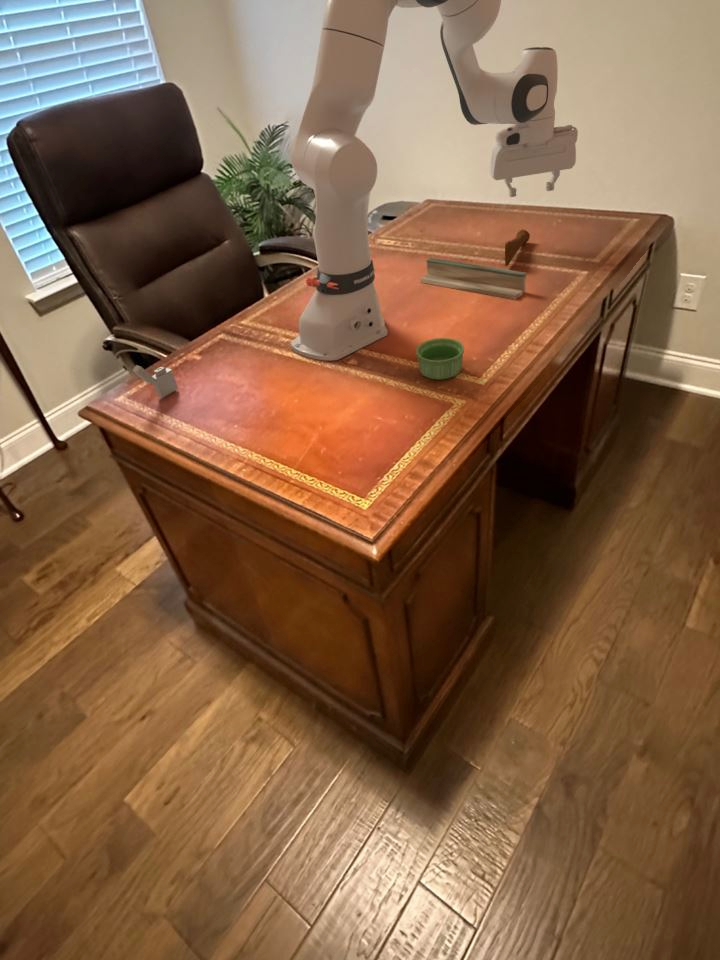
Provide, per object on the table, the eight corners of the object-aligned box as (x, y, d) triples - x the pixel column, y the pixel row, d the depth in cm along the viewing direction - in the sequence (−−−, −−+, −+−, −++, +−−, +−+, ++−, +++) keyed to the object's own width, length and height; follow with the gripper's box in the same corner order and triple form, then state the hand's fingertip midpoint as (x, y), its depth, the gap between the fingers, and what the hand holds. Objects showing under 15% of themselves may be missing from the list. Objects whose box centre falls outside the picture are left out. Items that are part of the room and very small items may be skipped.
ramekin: (461, 355, 115) (461, 335, 113) (466, 379, 109) (466, 358, 106) (416, 360, 116) (415, 340, 114) (418, 383, 110) (417, 363, 107)
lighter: (173, 386, 120) (160, 351, 115) (178, 388, 119) (165, 352, 114) (145, 403, 116) (130, 367, 111) (151, 405, 115) (136, 369, 110)
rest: (515, 299, 132) (516, 280, 129) (420, 282, 146) (419, 264, 143) (525, 292, 134) (526, 272, 131) (431, 275, 148) (430, 257, 145)
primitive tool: (504, 267, 145) (518, 266, 143) (504, 244, 141) (519, 243, 140) (516, 243, 158) (529, 242, 157) (516, 222, 155) (530, 221, 154)
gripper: (574, 121, 140) (568, 183, 149) (488, 135, 141) (488, 196, 150) (583, 125, 135) (576, 190, 144) (495, 140, 136) (494, 203, 145)
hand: (531, 193), depth 147 cm, fingers open, 8 cm apart
